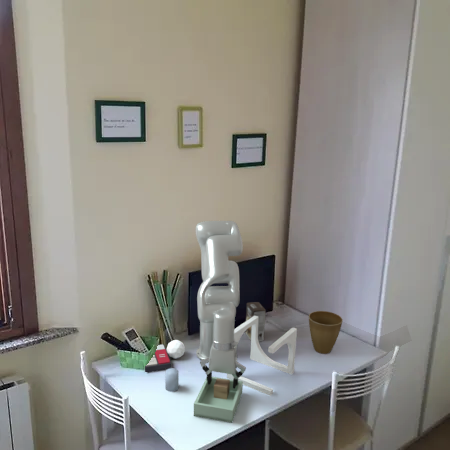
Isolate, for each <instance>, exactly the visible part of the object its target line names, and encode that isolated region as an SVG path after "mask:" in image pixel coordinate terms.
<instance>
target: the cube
mask: <svg viewBox="0 0 450 450" xmlns="http://www.w3.org/2000/svg"><path fill="white" fill-rule="evenodd" d="M219 378H220V377H218V378H217V379H216V382H215V384H214V398H220V399H227V397H228V395H229V391H230V380H231V379H230V380H226V379H227V378H224V379H219Z"/></svg>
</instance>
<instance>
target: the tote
mask: <svg viewBox="0 0 450 450" xmlns="http://www.w3.org/2000/svg"><path fill="white" fill-rule="evenodd" d="M217 378H219V379H226V380H230V391H229V395H228V397H227V399H220V398H214V384H215V382H216V379H217ZM243 386H244V385H243V381H238V385H237V386H236V387H235V389H234V388H233V380H231V379H228V378H223V377H216V376H212V381H211V383H210V384H208V381H207V377H206V378H205V380H204V382H203V384H202V386H201V388H200V390H199V392H198V394H197V396H196V399H195V400H194V403H193V416H194V417H197V418H202V419H208V420H214V421H219V422H224V423H231V424H232V423H233V422H234V419H235V416H236V413H237V410H238V407H239V404H240V401H241V398H242V395H243Z"/></svg>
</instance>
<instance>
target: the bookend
mask: <svg viewBox="0 0 450 450" xmlns="http://www.w3.org/2000/svg"><path fill="white" fill-rule="evenodd" d="M258 320H259V317H258V316H253V317H252V318H250V319H249V320H247V321H246V320H245V321H244V322H243V323H240V325H238V326H237V327H236V328H235V327H234V341H235V342H238V343H239V342H240V340H241V338H242V336H243V335H244V333H245V332H246V330H247V329H248V328H249V327H251V326H252V332H251V341H250V354H249V355H250V357H249V360H252V361H254V362H257V363H259V364H262V365H265V366H268V367H270V368H273V369H275V370H278V371H280V372H283V373H285V374H286V373H287V374H289V375H291V376H292V375H293V374H294V373H295V361H296V351H297V350H296V348H297V335H298V328H295V327H291V328H290V329H289V330H287V332H285V333H284V334H283V335H281V336H280V337H279V338H278V339H277V340H275V341H274V342H273V343H272V344H271V345H269V346H268V352H267V353H269V354H274V353H276V352H277V351H278V350H279V349H280V348H282V347H283V346H284V345H286V346H287V347H288V359H287V365H285V364H283V363H280V362H278V361H275V360H273V359H272V358H270V357H269V356H268V355H267V354H266V353H265V351H264V350H263V348H262V347H261V345H260V341H258ZM237 347H238V345H237V346H236V349H237ZM226 379H230V380H233V379H234V377H233V375H232V374H226ZM238 381H243V386H245V387H248V388H250V389H253V390H255V391H258V392H260V393H262V394H264V395H267V396H269V397H271V396H272V395H273V394H274V388H271V387H268V386H267V385H264V384H262V383H259V382H258V381H257V382H256V381H254V380H252V379H250V378H246V377H244V376H243V375H242V376H240V377H239V378H238Z"/></svg>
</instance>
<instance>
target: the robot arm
mask: <svg viewBox="0 0 450 450" xmlns="http://www.w3.org/2000/svg"><path fill="white" fill-rule="evenodd" d="M195 238H196V240H197V243H198V245H199V249H200V256H201V262H200V263H201V264H200V265H201V266H200V267H201V279H202V282H201V284H200V286H199V288H198V291H197V297H196V301H197V317H198V320H199V322H200V323H199V324H200V325H199V347H198V348H197V349H196V351H195V354H196V357H197V358H198V359H199V360H200V362H199V364H200V367H202V368H201V369H202V370H203V371H204V372H205V375H206V378H207V381H208V384H210V383H211V381H212V377H213V372H214V373H221V374H226V375H227V374H232V375H233V377H234V379H233V388H234V389H235V387H236V386H237V385H238V378H239V377H240V376H242V377H243V375H244V373H245V372H246V369H247V367H246V366H245V365H243V364H241V363H240V362H238V354H237V353H238V351H237V348H236V346H237V347H238V346H239V345H238V344H239V342H235V341H234V329H235V317H236V314H237V307H238V306H239V304H240V300H241V299H240V269H239V266H238V263H237V262H235V261H234V260H229V257H239V256H241V255H242V253H243V249H244V246H243V243H244V242H243V238H242V235H241V232H240V229H239V226H238V223H237V222H236V221H234V220H207V221H200V222H198V223H197V224H196V226H195ZM214 284H228V285H226V286H225V285H224V286H223V285H220V286H219V285H216V286H215V285H214ZM212 285H213V286H212ZM207 364H208V366H207ZM237 369H240V370H239V371H238V370H237Z"/></svg>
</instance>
